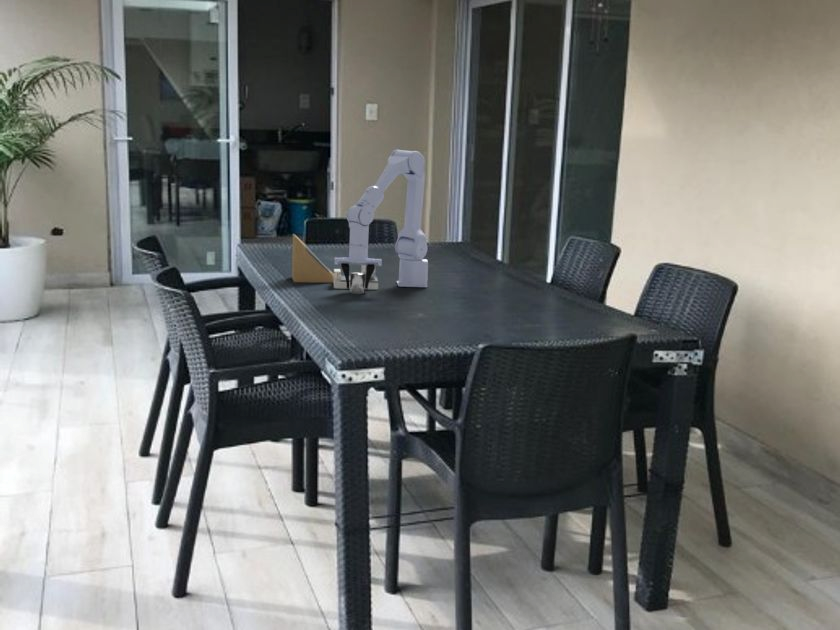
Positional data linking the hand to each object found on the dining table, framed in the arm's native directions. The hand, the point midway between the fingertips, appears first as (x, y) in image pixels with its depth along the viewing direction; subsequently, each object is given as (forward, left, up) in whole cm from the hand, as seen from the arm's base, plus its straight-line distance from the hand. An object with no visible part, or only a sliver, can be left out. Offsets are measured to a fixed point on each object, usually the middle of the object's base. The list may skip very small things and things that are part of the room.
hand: (357, 287), depth 272 cm
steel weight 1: (0, 0, -1) cm, 1 cm away
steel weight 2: (-4, -10, +1) cm, 10 cm away
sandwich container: (+13, -19, -2) cm, 23 cm away
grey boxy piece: (0, -10, -1) cm, 10 cm away
